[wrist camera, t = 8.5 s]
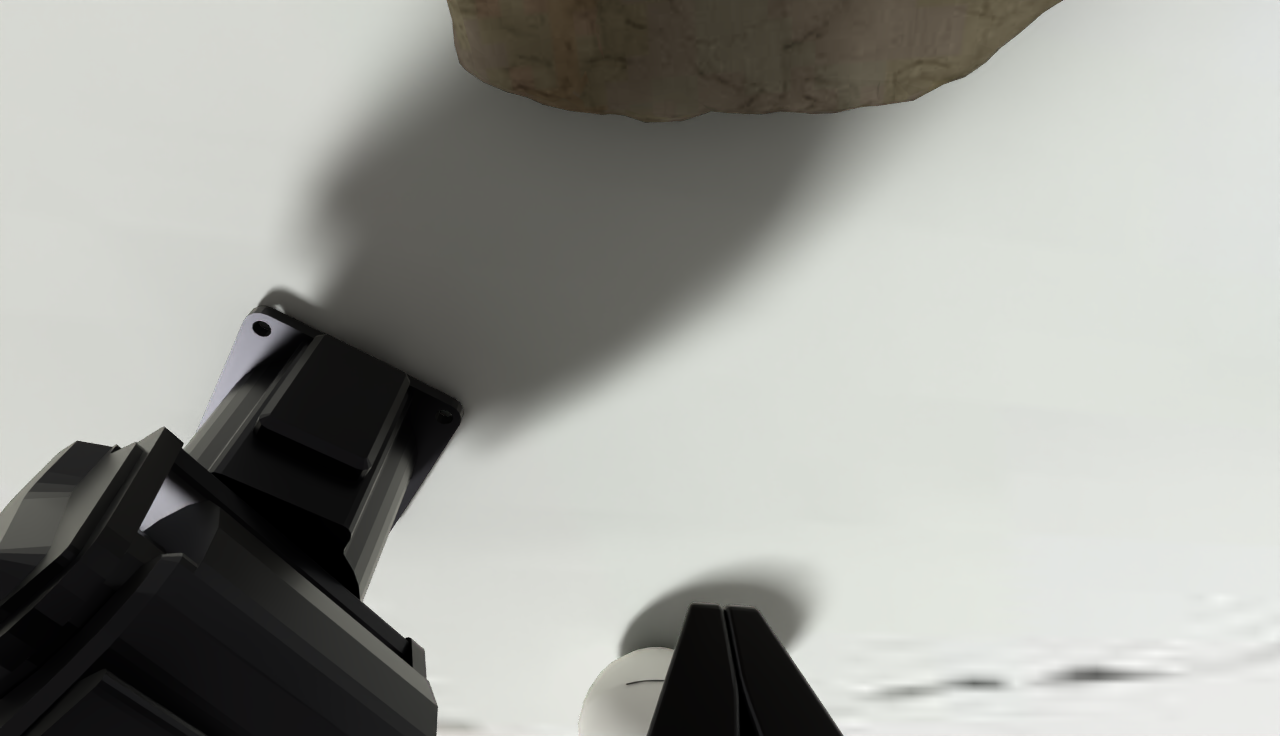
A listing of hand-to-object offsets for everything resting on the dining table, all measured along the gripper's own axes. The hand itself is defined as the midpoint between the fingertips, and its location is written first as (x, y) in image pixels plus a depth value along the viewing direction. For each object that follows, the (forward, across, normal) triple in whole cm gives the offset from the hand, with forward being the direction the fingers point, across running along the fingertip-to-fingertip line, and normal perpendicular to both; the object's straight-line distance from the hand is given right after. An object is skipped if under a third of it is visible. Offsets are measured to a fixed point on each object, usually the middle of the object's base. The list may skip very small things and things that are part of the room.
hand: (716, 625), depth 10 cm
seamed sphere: (+13, -2, +17) cm, 22 cm away
